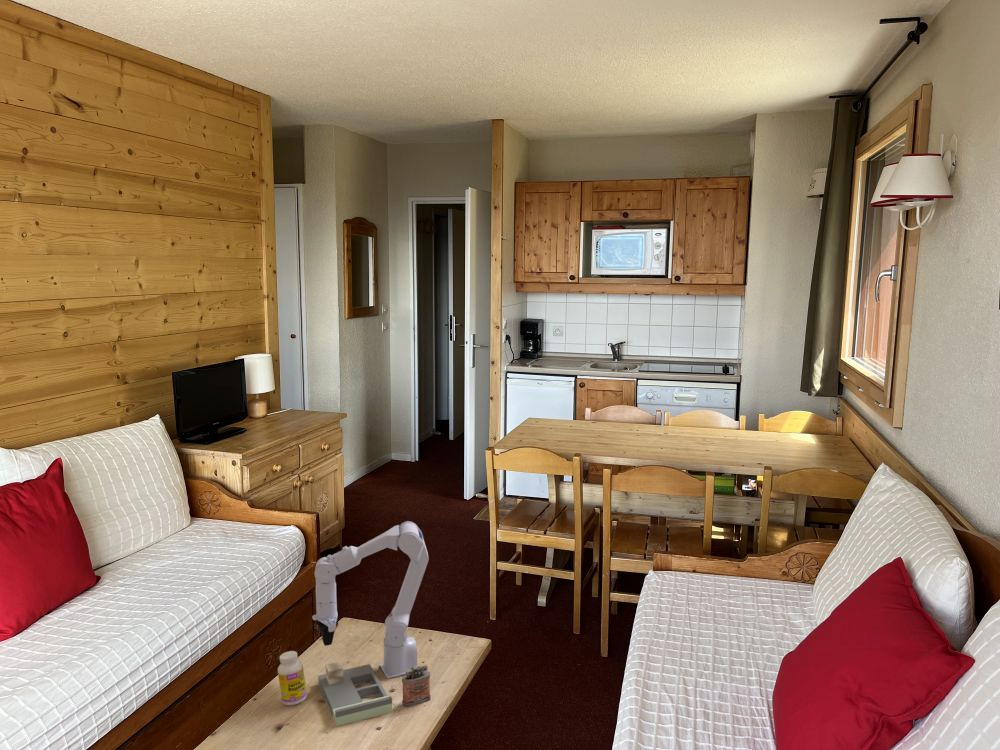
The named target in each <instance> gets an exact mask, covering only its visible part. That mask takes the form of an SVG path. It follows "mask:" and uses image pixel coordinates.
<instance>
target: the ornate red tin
mask: <svg viewBox="0 0 1000 750" xmlns="http://www.w3.org/2000/svg"><path fill="white" fill-rule="evenodd" d="M428 668H429V667H428V665H427V664H423V665H420V666H417V667H415V666H413V667H412V668H411V669H408V670H406V674H405V675H403V676H402V677H401V682H402V700H401V702H402V703H401V704H402V707H405V708H408V707H414V706H418V705H422V704H424V702H425V703H427V702H430V701H431V698H432V697H431V686H430V685H431V683H430V682H431V681H430V680H431V679H430V678H431V672H430V671H428V670H429V669H428Z"/></svg>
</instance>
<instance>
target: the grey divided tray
mask: <svg viewBox="0 0 1000 750" xmlns="http://www.w3.org/2000/svg"><path fill="white" fill-rule="evenodd" d="M317 680H318V683H319V684H318V686H319V689H320V690H321V693H322V695H323V696H322V697H324V700H325V703H326V705H327V707H328V710H329V712H330V714H331V717H332V720H333V721H334V723H335V726H336V727H340V726H343V725H347V724H350V723H355V722H359V721H363V720H367V719H370V718H374V717H378V716H382V715H386V714H390V713H393V697H392V696H391V695H390V696H388V694H387V692H386V690H385V688H384V686H383V685H382V683H381V681H380V680H379V678H378V676H377V675H376V673H375V671H374V668H373V667H372V666H371V663H367V664H364V665H358V666H355V667H350V668H346V669H343V682H339V683H335V684H331V685H329V684H328V681H327V679H326V673H325V674H320V675H317ZM369 682H371V683H372V684H370V685H365V686H362V687H358V688H357V687H355V686H357V685H361V684H365V683H369ZM373 695H374V696H375V695H378V696H379V697H377V698H373V699H369V700H364V701H363V700H362V698H363V699H364V698H366V697H370V696H373Z"/></svg>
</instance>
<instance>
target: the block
mask: <svg viewBox="0 0 1000 750" xmlns="http://www.w3.org/2000/svg"><path fill="white" fill-rule="evenodd" d="M343 670H344V668H343V666H342V664H341V662H340V661H336V662H332V663H327V664H325V674H326V679H327V681H328V684H329V685H331V684H335V683H339V682H343Z"/></svg>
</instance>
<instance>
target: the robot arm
mask: <svg viewBox="0 0 1000 750" xmlns="http://www.w3.org/2000/svg"><path fill="white" fill-rule="evenodd" d="M424 539H425V538H424V535H423V532H422V530H421V529H420V528H419V527H418V525H417V524H416V523H414V522H413V521H409V520H407V521H404V522H402V523H401V524H397V525H394V526H392V527H391V528H390V529H388V530H386V531H384V532H383V533H381V534H379V535H378V536H375V537H374V538H372V539H370V540H367V542H365V543H363V544H361V545H360V546H353V545H350V546H347V545H345V546H343V547H342V549H341V550H339V551H337V552H336V553H334V554H332V555H331V554H328V555H327V556H324V557H321V558H319V559H318V560H317V562H316V564H315V568H314V573H313V574H314V578H315V606H316V607H315V609H316V614H313V615H312V617H311V618H312V620H313V621H315V622H316V624H317V625H316V626H317V627H318V628H319V630H320V634H321V639H322V643H323V645H324V647H325V646H326V647H327V646H330V645H332V644H333V641H334V635H335V632H336V631H337V628H338V626H339V622H338V616H339V615H338V603H337V601H338V600H337V582H336V576H337V575H340V574H342V573H344V572H347V571H349V570H350V569H353V568H354V567H356V566H358V565H360V564H361V561H362V559H364V558H365V557H366V558H367V557H368V556H370V555H373V554H375V553H377V552H380V551H382V550H384V549H387V548H388V549H391V550H394V551H398V547H399V550H401V551H402V552H403V553H404V554H406V555H407V556H408V557H409V559H410V562H409V564H408V568H407V570H406V573H405V576H404V580H403V582H402V585H401V587H400V591H399V593H398V596H397V600H396V602H395V604H394V606H393V607H392V609H391V612H390V613H389V615H388V616H387V617H385V618H386V619H385V621H384V628H385V629H384V630H385V634H384V638H383V663H380V664H379V667H380V668H381V670H382V672H383V674H384V675H385V677H386V678H387V679H391V678H392V679H393V678H394V677H400V676H405V675H406V670H408V669H411V668H412V667H413V666H415V667H418V646H417V642H416V640H415V637H413V636H408V634H407V629H408V626H409V622H410V615H411V612H412V610H413V606H414V603H415V600H416V597H417V594H418V591H419V589H420V586H421V584H422V580H423V577H424V574H425V572H426V569H427V566H428V563H429V558H430V557H429V553H428V549H427V546H426V543H425V540H424Z"/></svg>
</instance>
